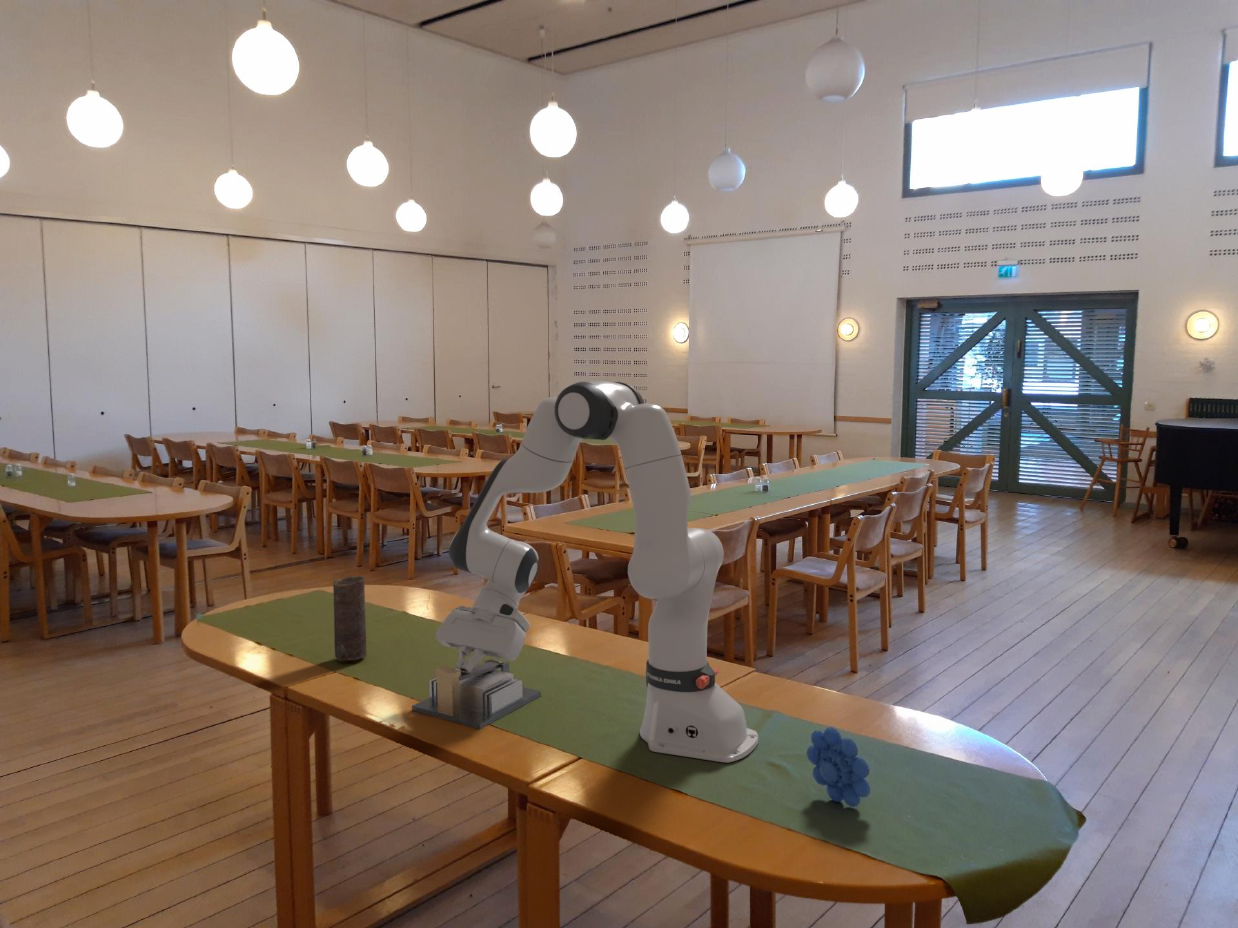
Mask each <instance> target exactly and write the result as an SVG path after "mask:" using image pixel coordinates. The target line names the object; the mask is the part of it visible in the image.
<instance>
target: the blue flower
mask: <svg viewBox="0 0 1238 928" xmlns="http://www.w3.org/2000/svg"><path fill="white" fill-rule="evenodd" d="M810 739H811V743H812V745H809V747H807V749H806V756H807V759H808V761H809V762H810V763H811V764H812V765H814V767H813V770H812V776H813V779H814V781H815V782H816V783H817V784H818V785H820V786H822V787H823V786H826V794H827V795H828V797H829V798H830V799H831V800H832V801H834V802H836V803H839V802H842V801H843V802H844V803H846V805H848V807H849V806H850V808H851V807H852V808H853V807H859V806H858V805H860V803H861V798H867V797H868V796H870V794H871V786H870V784H869V782H868V781H867V780H866V778H867V777H868V776H869V774H870V767H869V764H868V763H867V761H866V760H865V759H864V758H862V757H859V756H858V752H859V749H858V746H857V744H856V742H855V741H854V739H851V738H849V737H843V738H842V735H841V733H840V731H838V730H837V729H836V727H832V726H831V727H830V726H829V727H827V728H825V730H824V732H823V731H822V730H819V729H818V730H814V731H813V732H812V733H811V735H810ZM857 756H858V757H857Z"/></svg>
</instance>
